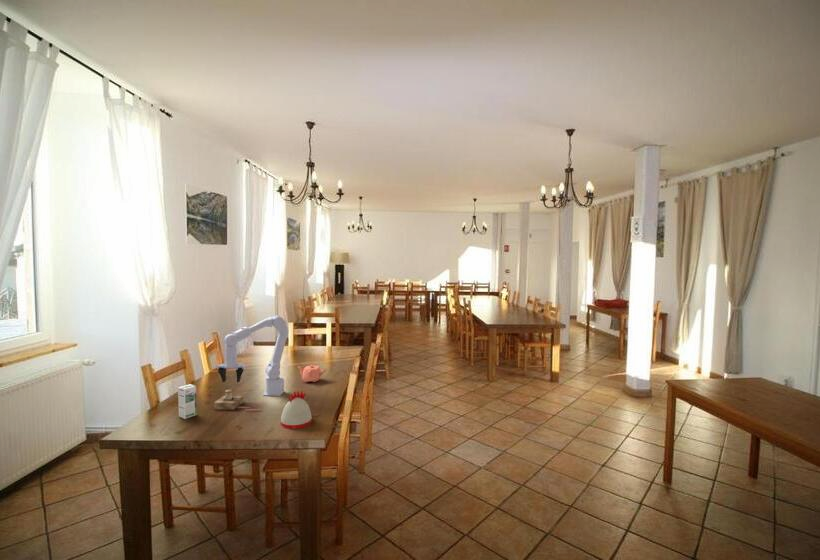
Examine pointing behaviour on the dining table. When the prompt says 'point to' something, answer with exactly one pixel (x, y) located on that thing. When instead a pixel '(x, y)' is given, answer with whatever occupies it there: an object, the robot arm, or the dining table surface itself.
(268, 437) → the dining table surface
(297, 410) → the kitchen timer
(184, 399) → the syrup box
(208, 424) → the dining table surface
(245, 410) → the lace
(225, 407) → the wooden square frame
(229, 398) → the tan round log
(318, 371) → the teapot
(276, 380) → the robot arm
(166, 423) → the dining table surface
